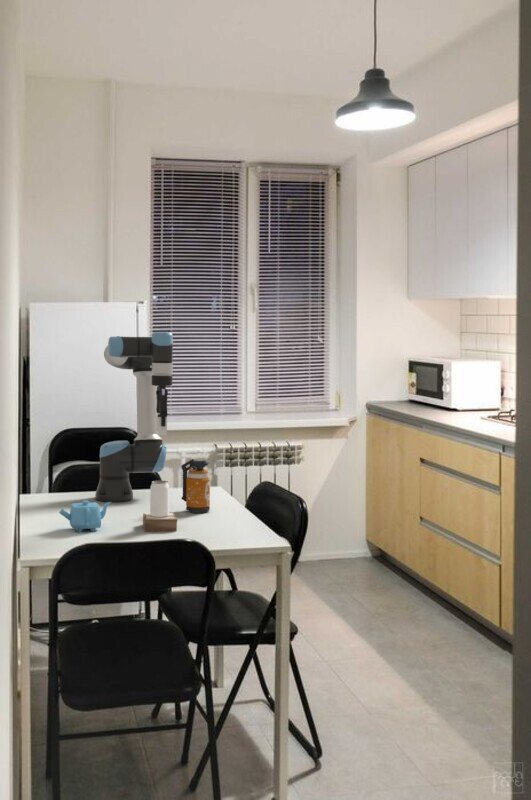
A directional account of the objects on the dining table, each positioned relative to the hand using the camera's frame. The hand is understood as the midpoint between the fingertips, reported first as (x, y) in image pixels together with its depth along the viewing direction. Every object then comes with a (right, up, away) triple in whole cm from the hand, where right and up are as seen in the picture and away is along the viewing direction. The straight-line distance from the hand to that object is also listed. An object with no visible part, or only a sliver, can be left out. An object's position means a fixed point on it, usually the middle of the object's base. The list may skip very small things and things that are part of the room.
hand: (161, 433), depth 329 cm
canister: (+11, -31, +17) cm, 37 cm away
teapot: (-24, -33, -16) cm, 44 cm away
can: (+1, -29, -13) cm, 31 cm away
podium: (+1, -33, -12) cm, 35 cm away
